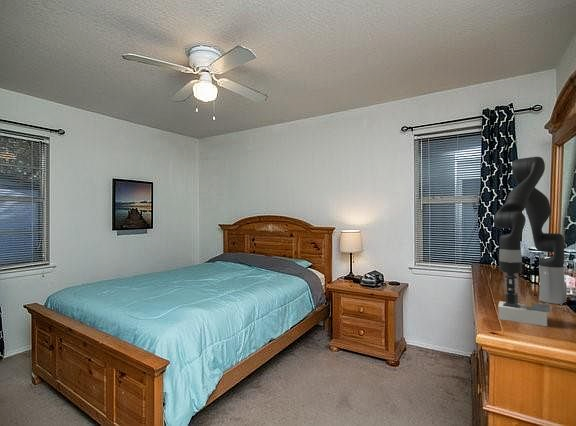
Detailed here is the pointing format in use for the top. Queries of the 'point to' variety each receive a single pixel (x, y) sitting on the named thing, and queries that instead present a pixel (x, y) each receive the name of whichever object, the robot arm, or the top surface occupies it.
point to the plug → (515, 300)
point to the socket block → (522, 314)
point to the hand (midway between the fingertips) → (511, 301)
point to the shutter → (536, 305)
